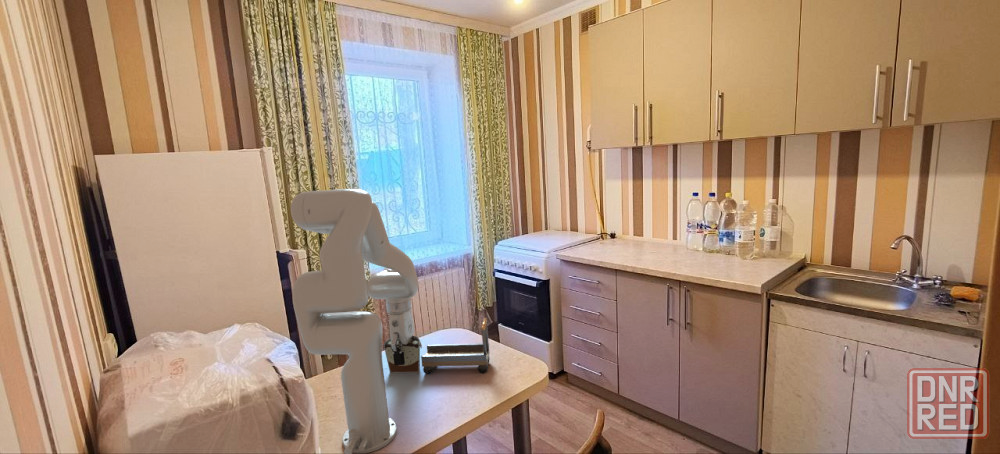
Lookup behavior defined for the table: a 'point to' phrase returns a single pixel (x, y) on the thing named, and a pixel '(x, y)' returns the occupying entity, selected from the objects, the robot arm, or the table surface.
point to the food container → (405, 356)
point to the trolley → (458, 354)
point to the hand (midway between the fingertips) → (404, 356)
